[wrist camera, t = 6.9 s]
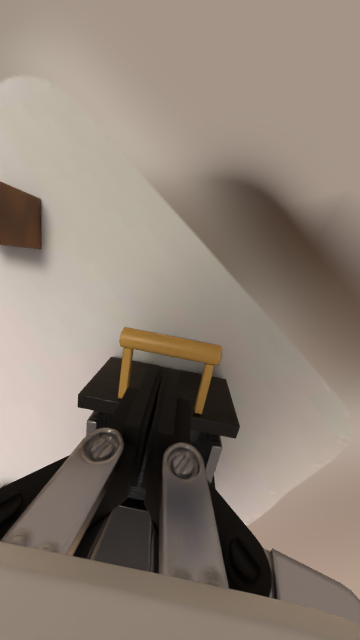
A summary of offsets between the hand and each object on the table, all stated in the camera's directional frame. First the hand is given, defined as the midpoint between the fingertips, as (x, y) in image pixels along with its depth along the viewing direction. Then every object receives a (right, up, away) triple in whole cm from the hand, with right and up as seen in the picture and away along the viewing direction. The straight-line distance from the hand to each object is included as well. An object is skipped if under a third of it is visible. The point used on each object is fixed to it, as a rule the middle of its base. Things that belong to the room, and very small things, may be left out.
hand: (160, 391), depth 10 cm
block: (-14, +13, +8) cm, 21 cm away
